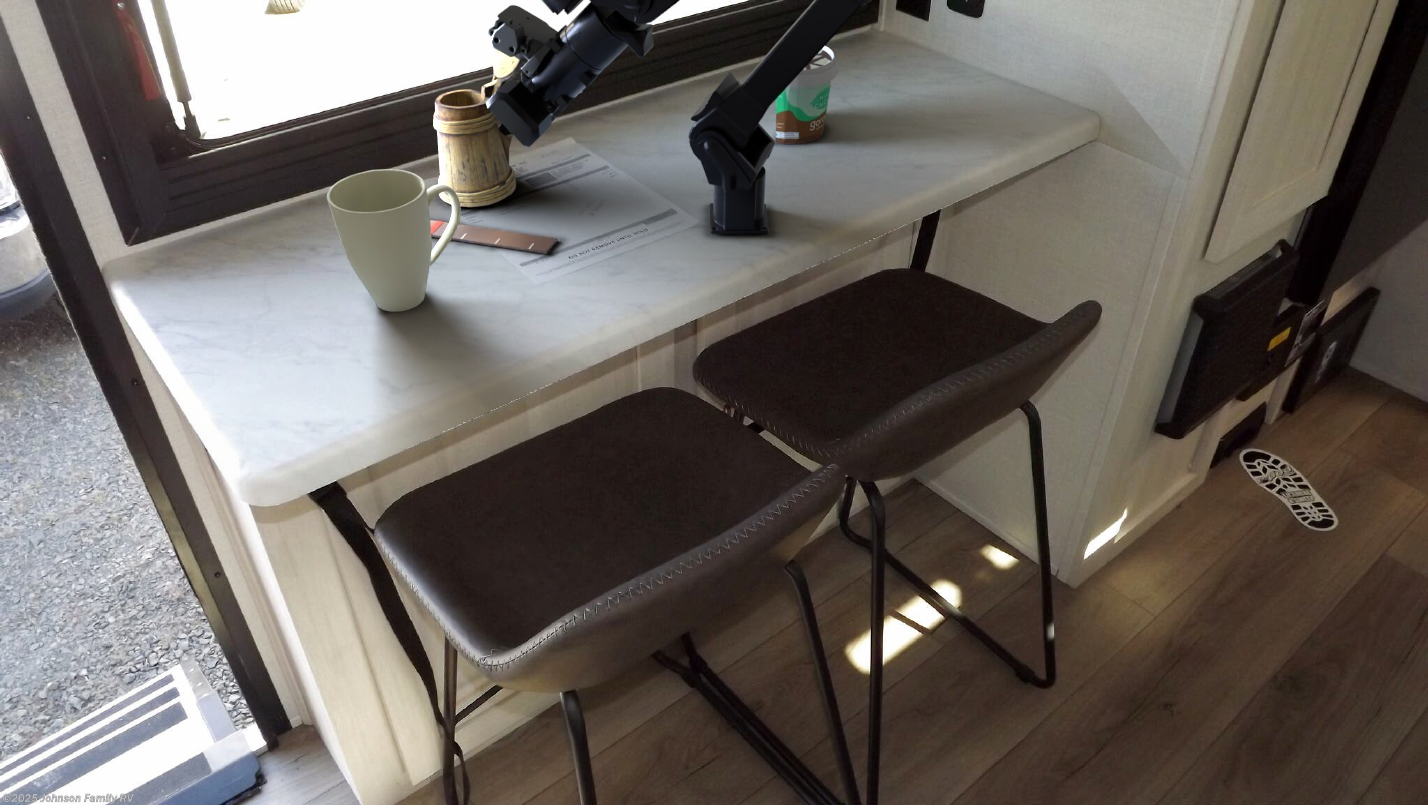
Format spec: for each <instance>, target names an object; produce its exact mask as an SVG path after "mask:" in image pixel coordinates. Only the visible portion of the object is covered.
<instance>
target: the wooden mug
mask: <svg viewBox="0 0 1428 805" xmlns="http://www.w3.org/2000/svg"><path fill="white" fill-rule="evenodd" d="M524 64H525V62H524V61H521V60H519V59H517V58H515V57H508V56H507V55H505V54H503V53H502V52H500V51H498V50H496V51H495V54H494V59H493V66H492V67H493V77H492V79H491V82H488V83H485V84H483V85H482V86H481V89H480V90H481V91H480V90H476V89H469V88H468V89H467V88H466V89H454V90H450V91H446V92H444V93H441V94H439V95H438V96H437V98H435V101H434V109H435V111H434V114H433V128H434V130H436V132H437V145H438V146H437V147H438V162H439V174H440V175H439V177H438V182H437V183H438V184H444V185H447V186H449V187H450V188H452V189H453V190H454V191H455V193H456V194H457V196H458V199H459V202H460V207H467V208H474V207H475V208H477V207H485V206H489V205H493V204H495V203H499V202H500V201H503V200H504V199H506V198H507V197H509V196H511V195H512V194H513V193H514V192H515V190H516V188H517V179H516V178H517V177H516V174H515V172H514V169H513V167H512V166H511V165H510V146H511V143H512V139H513V137H514V135H513V134H512V135H508V136H504V135H503V134H502V133H501V132H500V131H499V127H500V125H498V124H497V122H498V121H499V120H498V119H497V118H496V117H495V116H494V115H493V114H492V113H491V111H490V110H489V109H488V108H487V104H486V102H487V101H488V100H489V99H490V98H491V97H492V96H493V95H494V93H495V92H496V91H498V90H499V89H500V88H501V87H502V86H503V85H504V84H505V83H507V82H508V81H509V80H513V79H515V78H516V77H517V75H518V73H519V72H520V71H521V70H522V69H521V68H522V67H523V66H524ZM438 196H439V198H440V199H441V200H442V201H443V202H445V203H447V204H449V205H452V203H451V199H450V196H449V194H448V193H447V192H442V193H440V194H439V195H438Z"/></svg>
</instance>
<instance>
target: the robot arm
mask: <svg viewBox="0 0 1428 805" xmlns="http://www.w3.org/2000/svg"><path fill="white" fill-rule="evenodd" d="M583 1H584V0H541V2H542V3H543V4H544V5H545V6H546V8H548V9H549V10H550V12H551V13H552V14H554V13H555V14H556V16H559V14H561V13H562V12H564V13H565V14H566V15H567V16H568V15H569V14H571V13H573V11H574V10H575V9H577V7H578V6H579V5H580V4H582V3H583ZM680 1H681V0H589V3H588V4H587V5H586V6H585V7H584V8H583V9H581V11H580V12H579V13H578V14H577V15H576V17H574V18H573V19H572V20H571V21H570V22H569V24H568V25H567V24H564V25H563V26H562V27H561V28H560V29H559V30H556V29H555V28H553V27H552V26H550V25H549V23H547V22H546V21H544V20H543V19H542V18H540V17H538V16H537V15H535V14H533V13H531V12H530V11H528V10H526V9H525V8H523V7H521V6H519V5H516V4H511V5H509V6H507V7H506V8H505V9H504V10H502V11H501V12H500V13H498V14H497V16H496V19H495V21H494V23H493V26H491V27H490V28H489V29H488V31H487V34H488V35H489V37H490V38H489V43H490V45H491V46H492V48H493V49H494V50H496V51H497V50H498V51H500V52H502V53H503V54H505V55H507V56H508V57H515V58H517V59H519V60H521V61H524V64H523V65H522V67H521V69H520V70H521V72H520V78H521V79H520V80H519V78H518V77H517V76H515V77H514V78H513V79H511V80H509V81H508V82H507V83H505V84H504V85H503V86H502V87H501V88H500V89H499V90H498V91H496V92H495V93H494V95H493V96H492V97H491V98H490V99H489V100H488V101H487V102H486V104H487V108H488V109H489V110H490V111H491V113H492V114H493V115H494V116H495V117H496V118H497V119H498V120H497V121H498V122H500V124H499V126H500V127H499V131H500V132H501V133H502V134H503V135H504V136H508V135H512V134H513V137H514V138H515V139H516V140H517V141H518V142H519V143H520V144H521V145H522V146H524V147H527V148H531V146H532V145H534V144H535V143H536V142H537V140H539V138H541V136H542V135H544V134H545V133H546V131H547V130H548V129H549V128H550V127H551V126H552V124H553V122H554V121H555V120H556V116H558V115H561V113H562V112H564V111H565V109H567V107H568V106H569V105H570V104H571V102H572V101H574V100H575V98H576V97H577V96H578V95H580V94H582V93H583V92H584V91H586V89H588V87H589V86H590V85H591V84H592V83H593V82H594V81H595V80H596V79H597V78H598V77H599V75H600V74H601V73H602V72H603V71H604V70H605V69H606V68H607V67H608V66H610V64H612V63H613V62H614V60H616V58H618V57H619V56H620V55H621V54H622V53H623V52H624V50H626V49H627V48H628V47H629V48H630V49H631V51H633V52H634V53H635V55H636V56H637V57H638V58H640V59H642V58H644V57H645V56H646V55H647V54H648V52H649V51H651V49H653V48H654V46H655V43H654V34H653V31H654V25H653V24H652V23H653V22H654V21H656V20H657V19H658V18H659V17H661V16H662V15H664V13H666V12H667V11H669V9H671V8H672V7H674V6H675V5H676V4H678V2H680ZM872 1H873V0H813V1H812V2H811V3H810V4H809V6H808V7H807V8H806V9H805V10H803V13H801V14H800V16H799V17H798V18H797V19H796V21H794V23H793V24H792V25H791V26H790V27H789V28H788V29H787V31H786V32H784V34H783V35H782V36H781V38H780V39H779V40H778V41H777V42H776V43H775V44H774V46H773V47H772V48H771V49H770V50H769V51H768V52H767V53H766V55H765V56H764V57H763V58H762V59H761V61H759V62H758V64H757V65H756V66H755V67H754V68H753V69H752V70H751V72H749V73H748V74H747V75H745V76H744V77H742V78H740V79H739V80H738V79H737V78H736V77H735V76H734V75H733V73H732V72H731V71H728V72H727V74H725V76H724V77H723V78H722V80H721V81H720V83H719V84H718V85H717V86H716V88H715V89H714V90H713V92H711V93H709V94H708V95H707V96H706V97H705V98H704V100H703V102H701V104H700V105H699V106H698V108H697V109H696V110H695V112H694V113H693V114H692V115H691V117H690V120H691V121H692V122H694V123H693V125H692V126H691V128H690V130H689V131H688V141H689V146H690V147H689V148H690V149H691V151H692V153H693V155H694V156H695V157H696V159H697V160H698V161H700V164H701V166H702V170H703V171H704V175H705V178H706V180H707V182H708V184H709V185H710V186H713V202H712V203H709V232H710V234H712V235H766V234H769V231H770V227H769V220H768V218H769V217H768V209H767V204H766V203H765V198H766V197H765V196H766V173H767V172H766V170H767V169H766V168H765V166H764V165H765V163H766V162H767V160H768V159H769V158H770V157H771V154H772V152H773V149H774V147H775V145H776V140H775V139H774V138H773V137H772V136H771V135H770V134H769V132H767V131H766V130H765V129H764V127H763V126H762V125H761V124H760V122H761V121H762V120H763V117H765V115H766V112H767V111H768V109H769V108H770V106H772V105H773V104H774V102H776V99H777V97H778V96H779V95H780V94H781V93H782V92H783V91H784V90H785V89H786V88H787V87H788V86H789V84H790V83H791V82H792V81H793V80H794V79H795V78H796V77H797V76H798V75H799V74H800V72H801V71H802V70H803V69H804V68H805V67H806V66H807V65H808V64H809V63H810V62H811V60H812V59H813V58H814V57H815V56H816V55H817V54H818V53H819V52H820V51H821V50H822V49H823V47H824V46H826V45H828V43H829V42H830V41H831V40H832V39H833V38H834V37H835V35H837V33H838V32H839V31H840V30H841V29H842V28H843V27H844V26H846V24H847V22H848V21H850V20H851V19H852V17H853V16H854V15H855V14H856V13H857V12H858V11H859V10H860V9H861V8H863V7H864V6H866V5H867V4H869V3H871V2H872Z"/></svg>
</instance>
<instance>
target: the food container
mask: <svg viewBox="0 0 1428 805" xmlns="http://www.w3.org/2000/svg"><path fill="white" fill-rule="evenodd" d="M837 75H838V64H837V59H836V56H835V53H834V51H833V50H832V49H831V48H830V47H829V46H826V45H825V46H824V47H823V49H822V50H821V51H820V52H819V53H818V54H817V55H816V56H815V57H814V58H813V59H812V60H811V62H810V63H809V64H808V65H807V66H806V67H805V68H804V69H803V70H802V71H801V72H800V74H799V75H798V76H797V77H796V78H795V79H794V80H793V81H792V82H791V83H790V84H789V86H788V87H787V88H786V89H785V90H784V91H783V92H782V93H781V94H780V95H779V96H778V97H777V99H776V100H775V144H781V145H797V144H798V145H799V144H806V143H810V142H813V141H816V140H818V139H819V138H821V137H822V136H823V134H824V131H825V126H826V118H827V111H828V105H829V98H830V92H831V86H832V81H833V80H834V79H835V78H836V77H837Z"/></svg>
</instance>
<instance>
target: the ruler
mask: <svg viewBox="0 0 1428 805" xmlns="http://www.w3.org/2000/svg"><path fill="white" fill-rule="evenodd" d="M448 224H449V222H446V221H441V220H431V219H430V225H431V237H432V238H436V239H440V238H441V237H442V235H443V233H444V232H445V230H446V228H447V226H448ZM450 241H455V242H463V243H470V244H476V245H482V246H489V247H496V248H504V249H510V250H515V251H516V250H517V251H523V252H528V253H529V252H530V253H537V254H544V255H547V254H548V253H549V252H550V250H551V249H552V248H553V247H554V245H556V243H557V242H558V238H557V237H556V238H555V237H549V236H542V235H536V234H529V233H521V232H515V231H508V230H501V229H494V228H487V227H481V226H474V225H466V224H460V223H459V225H458V228H457V230H456V232H455V234H454V236H453V237H452V239H451V240H450Z"/></svg>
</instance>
